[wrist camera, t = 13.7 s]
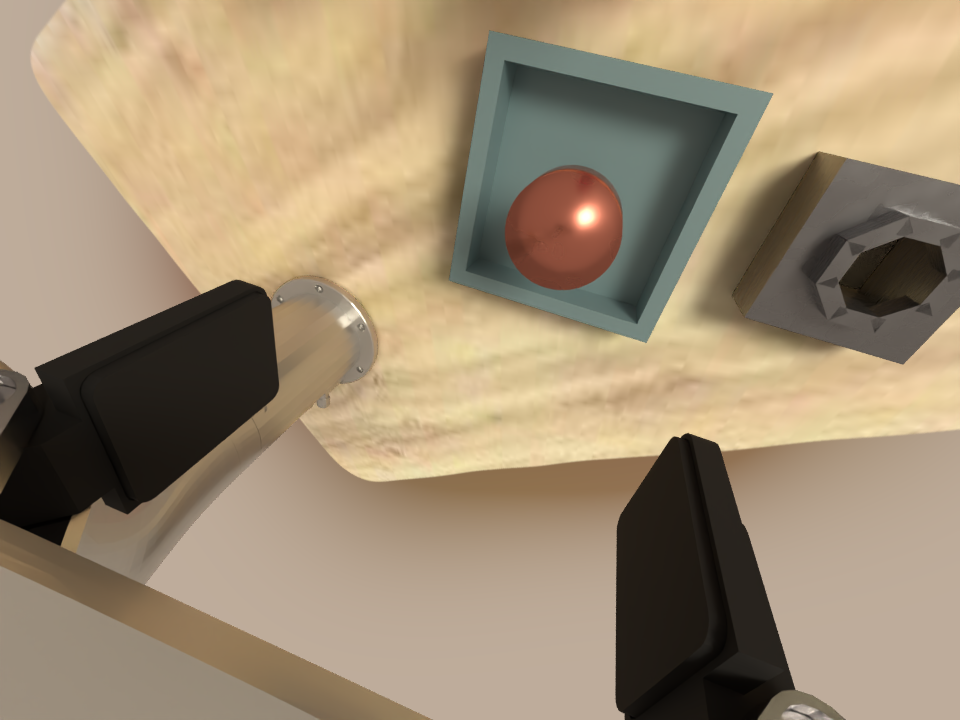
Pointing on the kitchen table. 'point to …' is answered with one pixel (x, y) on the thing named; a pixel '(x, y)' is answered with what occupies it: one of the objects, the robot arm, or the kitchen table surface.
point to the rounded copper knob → (565, 228)
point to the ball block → (836, 245)
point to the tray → (599, 170)
